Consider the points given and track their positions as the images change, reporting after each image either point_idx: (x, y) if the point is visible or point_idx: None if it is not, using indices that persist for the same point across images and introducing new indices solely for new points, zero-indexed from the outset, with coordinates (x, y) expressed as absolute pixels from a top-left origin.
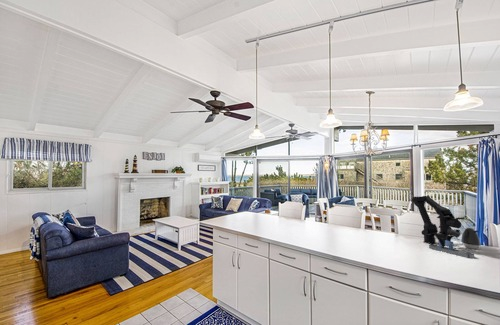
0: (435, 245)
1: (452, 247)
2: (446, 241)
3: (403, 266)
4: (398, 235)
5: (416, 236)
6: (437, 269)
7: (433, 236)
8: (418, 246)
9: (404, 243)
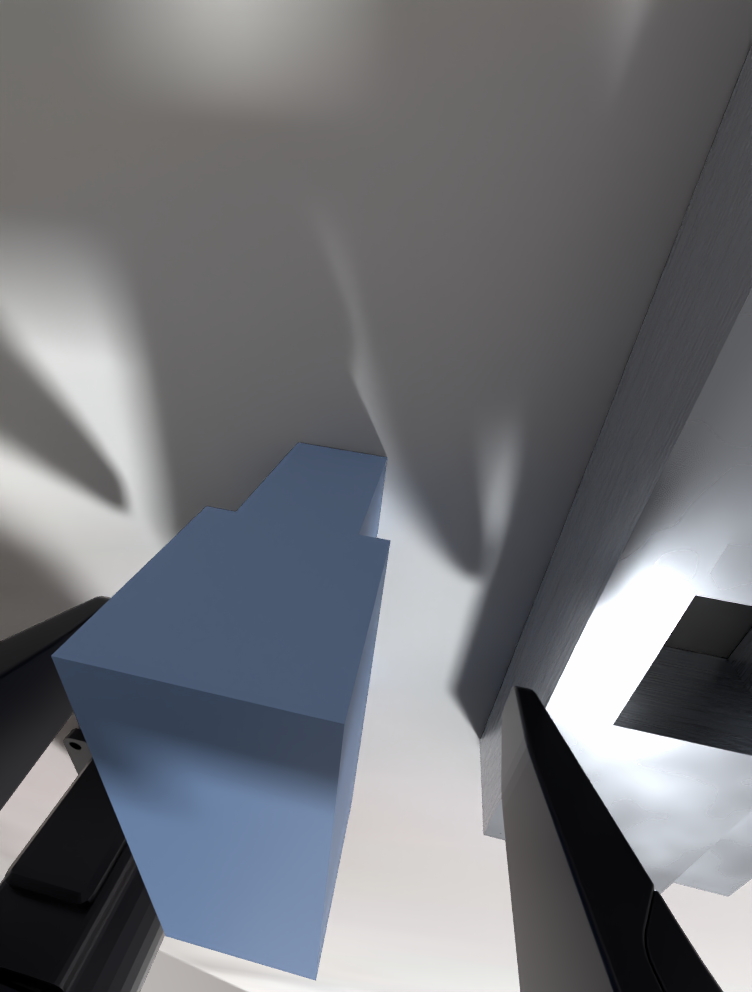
0: None
1: (344, 502)
2: (327, 855)
3: None
4: (192, 955)
5: (17, 855)
6: None
7: (30, 955)
8: None
9: None
